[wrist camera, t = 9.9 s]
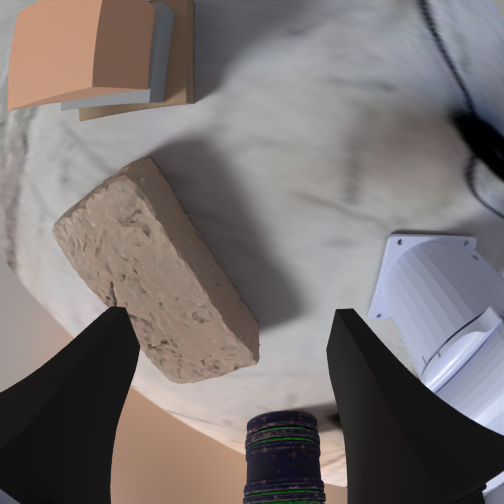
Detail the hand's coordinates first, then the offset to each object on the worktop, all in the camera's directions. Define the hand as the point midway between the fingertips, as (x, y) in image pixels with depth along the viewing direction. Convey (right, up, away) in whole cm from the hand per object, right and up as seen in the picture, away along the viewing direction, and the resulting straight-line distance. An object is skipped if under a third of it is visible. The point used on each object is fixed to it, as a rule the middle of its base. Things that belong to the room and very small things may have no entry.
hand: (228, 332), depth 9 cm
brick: (-6, +1, +12) cm, 13 cm away
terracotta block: (-6, +12, 0) cm, 14 cm away
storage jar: (+5, -21, +24) cm, 32 cm away
